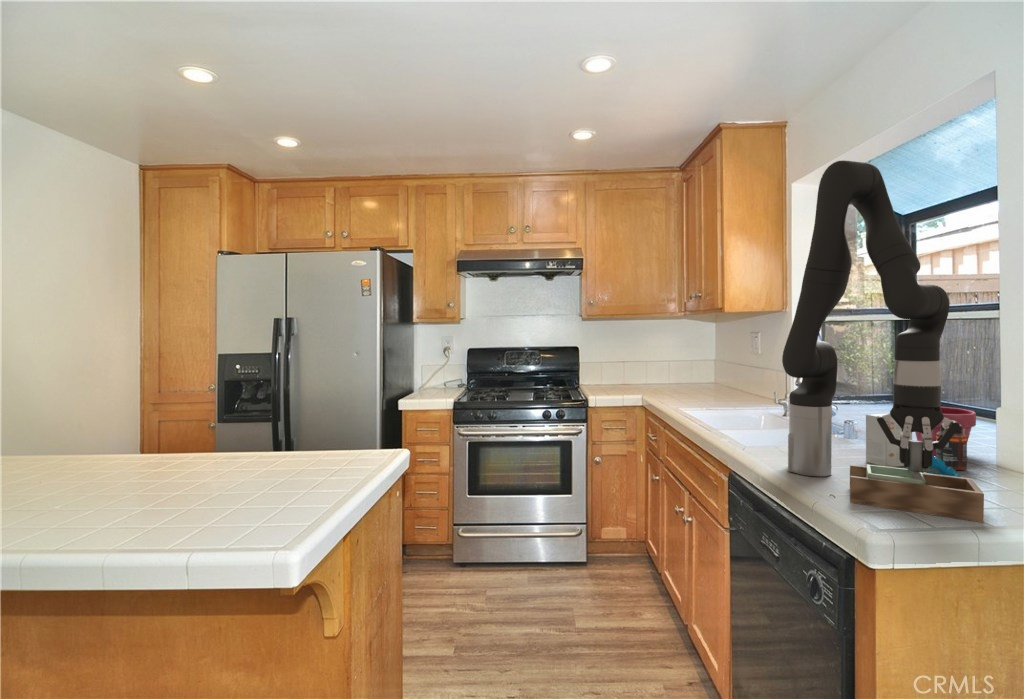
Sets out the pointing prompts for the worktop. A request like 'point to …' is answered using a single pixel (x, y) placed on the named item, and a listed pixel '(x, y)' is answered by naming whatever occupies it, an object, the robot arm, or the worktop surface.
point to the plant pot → (956, 414)
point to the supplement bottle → (954, 450)
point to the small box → (882, 443)
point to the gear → (940, 468)
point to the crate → (901, 474)
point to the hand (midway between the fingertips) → (915, 466)
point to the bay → (920, 495)
